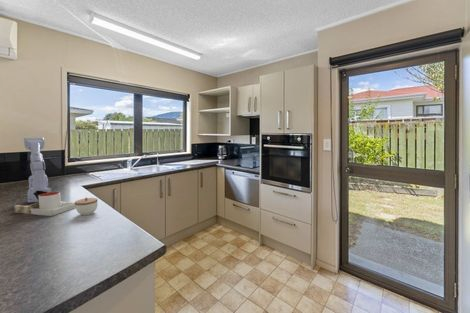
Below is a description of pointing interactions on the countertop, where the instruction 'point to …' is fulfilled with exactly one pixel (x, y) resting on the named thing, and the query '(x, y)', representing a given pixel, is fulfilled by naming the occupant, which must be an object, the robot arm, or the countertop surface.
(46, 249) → the countertop surface
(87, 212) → the lidded jar
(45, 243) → the countertop surface
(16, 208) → the bay
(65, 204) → the dock
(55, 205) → the cup
